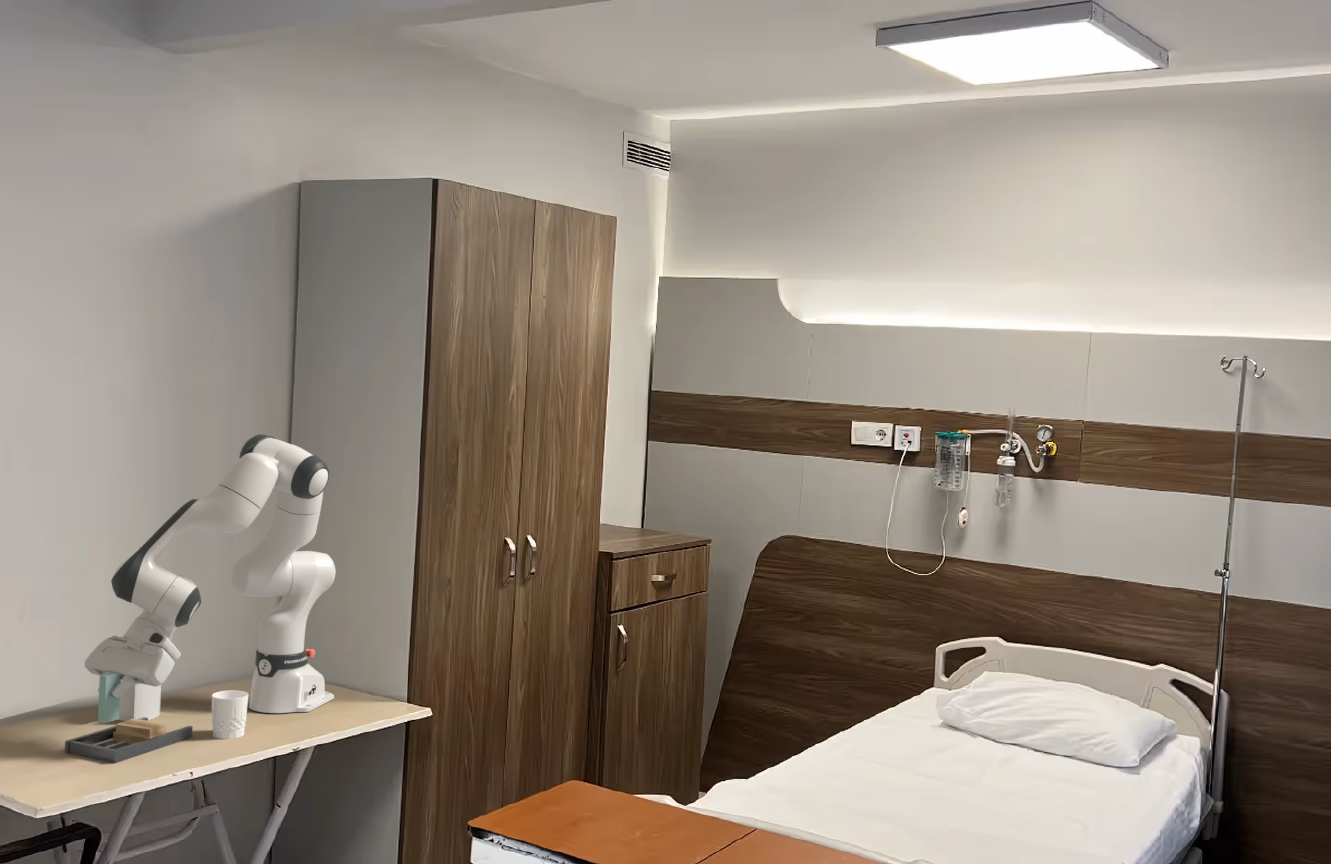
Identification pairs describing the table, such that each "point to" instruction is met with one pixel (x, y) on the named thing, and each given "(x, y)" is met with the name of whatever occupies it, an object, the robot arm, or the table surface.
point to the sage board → (108, 698)
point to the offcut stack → (138, 730)
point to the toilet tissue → (140, 702)
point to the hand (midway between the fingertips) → (107, 694)
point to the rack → (121, 744)
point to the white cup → (229, 713)
